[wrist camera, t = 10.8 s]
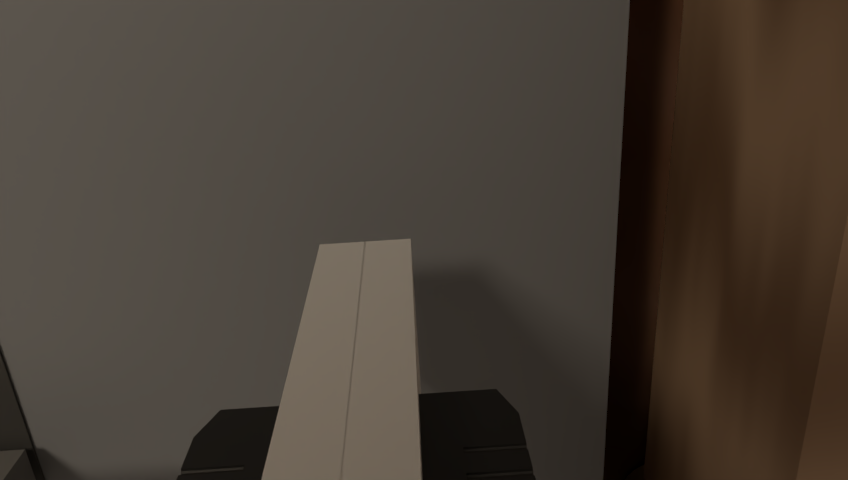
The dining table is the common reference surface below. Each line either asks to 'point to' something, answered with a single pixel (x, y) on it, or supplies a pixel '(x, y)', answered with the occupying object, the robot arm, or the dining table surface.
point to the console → (299, 209)
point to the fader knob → (15, 465)
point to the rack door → (755, 249)
